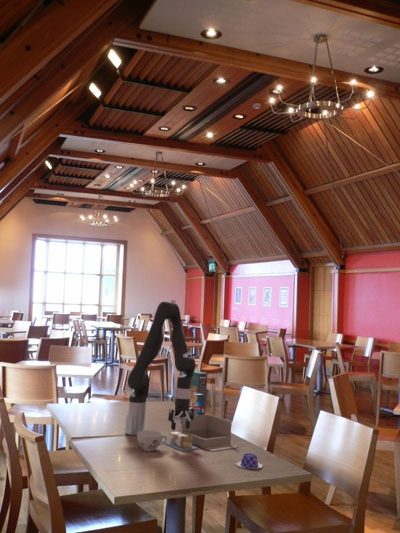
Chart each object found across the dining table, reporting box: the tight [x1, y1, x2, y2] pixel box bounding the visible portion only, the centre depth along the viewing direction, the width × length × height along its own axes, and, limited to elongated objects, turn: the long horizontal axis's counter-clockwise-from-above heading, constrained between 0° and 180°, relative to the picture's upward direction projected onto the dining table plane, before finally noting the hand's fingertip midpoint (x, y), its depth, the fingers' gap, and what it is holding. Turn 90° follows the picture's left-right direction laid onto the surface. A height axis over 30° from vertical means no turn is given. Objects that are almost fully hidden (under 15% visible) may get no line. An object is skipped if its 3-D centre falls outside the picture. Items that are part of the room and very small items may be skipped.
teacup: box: [136, 429, 168, 452], centre depth 273 cm, size 15×12×8 cm
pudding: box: [236, 452, 263, 470], centre depth 256 cm, size 12×12×5 cm
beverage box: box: [178, 393, 203, 433], centre depth 312 cm, size 7×11×22 cm, turn 104°
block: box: [168, 431, 193, 448], centre depth 283 cm, size 13×5×6 cm, turn 38°
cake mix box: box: [179, 369, 208, 415], centre depth 349 cm, size 22×6×30 cm, turn 34°
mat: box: [160, 440, 199, 452], centre depth 283 cm, size 10×18×1 cm, turn 38°
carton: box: [182, 413, 239, 452], centre depth 291 cm, size 18×26×12 cm
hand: (180, 429), depth 283 cm, fingers open, 8 cm apart
